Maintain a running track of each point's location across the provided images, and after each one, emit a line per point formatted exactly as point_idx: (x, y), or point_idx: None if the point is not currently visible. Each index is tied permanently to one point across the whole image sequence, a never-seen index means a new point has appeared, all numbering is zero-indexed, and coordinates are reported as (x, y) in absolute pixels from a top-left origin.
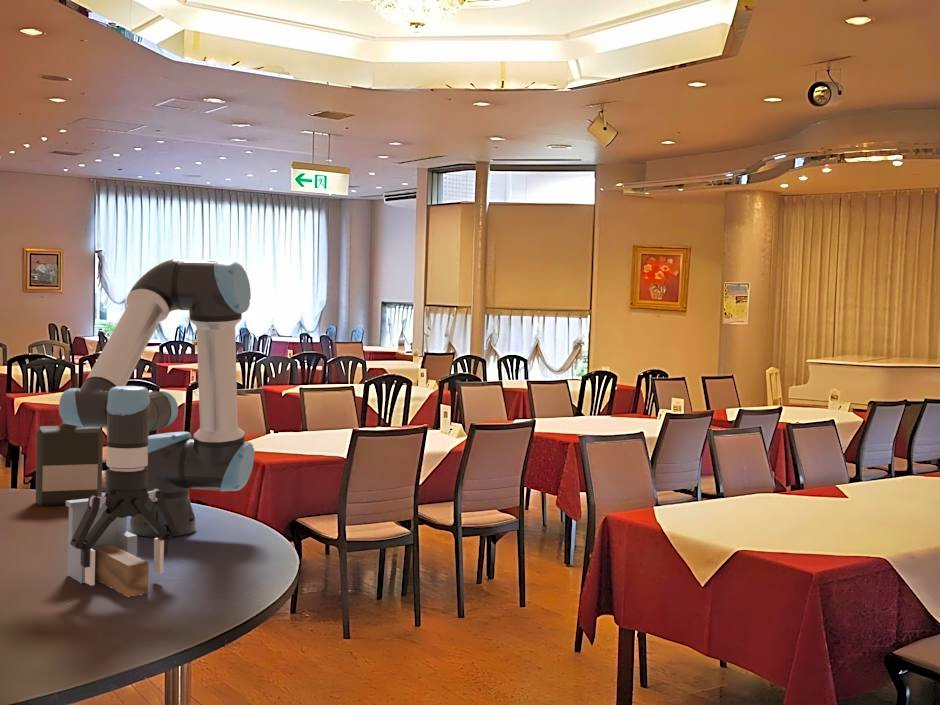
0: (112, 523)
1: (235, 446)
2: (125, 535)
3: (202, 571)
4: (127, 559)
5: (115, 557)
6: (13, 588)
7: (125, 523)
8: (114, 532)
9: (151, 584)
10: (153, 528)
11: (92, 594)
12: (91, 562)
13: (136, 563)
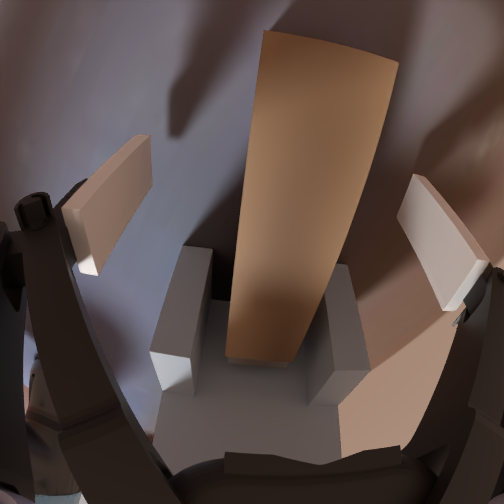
0: (206, 426)
1: None
2: (187, 370)
3: (24, 174)
4: (316, 173)
5: (332, 239)
6: (439, 312)
7: (161, 413)
8: (202, 397)
9: (188, 133)
10: (80, 303)
11: (398, 167)
12: (464, 225)
13: (336, 63)
